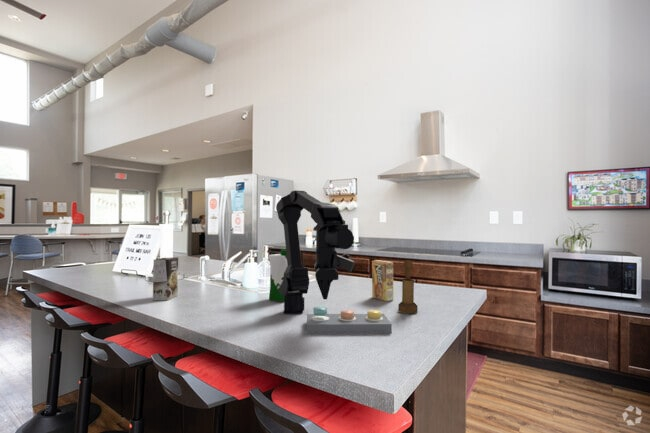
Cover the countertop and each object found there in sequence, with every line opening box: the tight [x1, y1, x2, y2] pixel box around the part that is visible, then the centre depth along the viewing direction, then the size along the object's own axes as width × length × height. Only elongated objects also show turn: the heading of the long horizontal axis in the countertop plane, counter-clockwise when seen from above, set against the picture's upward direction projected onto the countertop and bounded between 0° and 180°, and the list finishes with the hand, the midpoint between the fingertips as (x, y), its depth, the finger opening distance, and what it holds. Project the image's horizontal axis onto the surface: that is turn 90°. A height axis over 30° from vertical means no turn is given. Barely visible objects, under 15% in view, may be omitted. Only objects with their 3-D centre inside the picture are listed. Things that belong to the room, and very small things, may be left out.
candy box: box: [371, 259, 395, 302], centre depth 141 cm, size 9×4×15 cm, turn 33°
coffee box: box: [152, 257, 179, 301], centre depth 141 cm, size 9×6×16 cm
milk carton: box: [268, 248, 287, 303], centre depth 139 cm, size 9×9×20 cm
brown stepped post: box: [397, 259, 418, 315], centre depth 122 cm, size 7×6×18 cm
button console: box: [305, 313, 393, 334], centre depth 103 cm, size 24×11×3 cm, turn 92°
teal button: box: [313, 306, 328, 316], centre depth 103 cm, size 4×4×2 cm
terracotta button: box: [340, 309, 355, 319], centre depth 103 cm, size 4×4×2 cm
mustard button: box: [366, 309, 382, 319], centre depth 103 cm, size 4×4×2 cm
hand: (325, 299), depth 103 cm, fingers closed
